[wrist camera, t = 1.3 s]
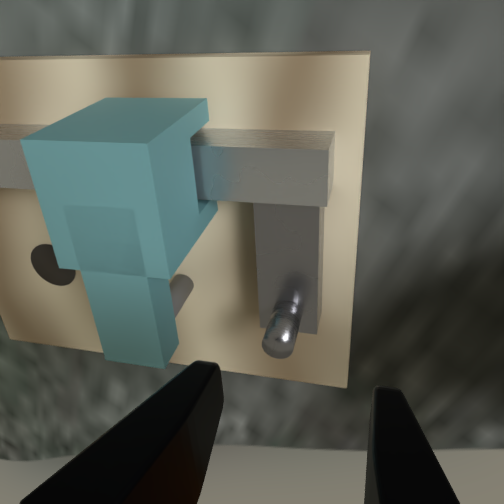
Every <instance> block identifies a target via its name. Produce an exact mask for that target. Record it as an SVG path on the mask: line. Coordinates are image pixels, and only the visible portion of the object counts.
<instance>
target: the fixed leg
mask: <svg viewBox="0 0 504 504" xmlns="http://www.w3.org/2000/svg"><path fill="white" fill-rule="evenodd" d="M253 210H254V228H255V246H256V264H257V282H258V299H259V317H260V328H266V331H265V334H264V337H263V340H262V348H263V350H264V352H265V353H266V354H267V355H269V356H271V357H273V358H276V359H285V358H288V357H289V356H291V354H292V353H293V350H294V346H295V342H296V338H297V334H298V332H299V333H308V334H316V335H317V332H318V327H319V322H320V317H321V312H322V283H323V247H324V210H325V207H318V206H301V205H284V204H268V203H253Z"/></svg>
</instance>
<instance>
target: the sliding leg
mask: <svg viewBox="0 0 504 504" xmlns="http://www.w3.org/2000/svg"><path fill="white" fill-rule="evenodd" d="M208 121H209V112H208V102H207V98H104V99H102V100H100V101H98V102H96V103H94V104H92V105H90V106H88V107H85V108H83V109H81V110H79V111H77V112H75V113H73V114H71V115H69V116H67V117H65V118H63V119H61V120H59V121H57V122H55V123H53V124H51V125H49V126H47V127H45V128H43V129H41V130H39V131H37V132H35V133H32V134H30V135H28V136H26V137H24V138H22V139H20V142H21V145H22V148H23V151H24V155H25V158H26V161H27V165H28V168H29V171H30V174H31V178H32V181H33V184H34V187H35V191H36V194H37V197H38V200H39V204H40V207H41V210H42V214H43V217H44V220H45V223H46V227H47V230H48V233H49V236H50V240H51V243H52V246H53V249H54V253H55V256H56V259H57V263H58V266H59V268H63V269H73V270H80V271H81V274H82V278H83V282H84V285H85V289H86V292H87V296H88V299H89V303H90V307H91V310H92V314H93V317H94V321H95V324H96V328H97V331H98V335H99V339H100V342H101V346H102V349H103V353H104V356H105V360H108V361H115V362H122V363H128V364H135V365H142V366H148V367H155V368H162V369H165V368H166V366H167V365H168V363H169V361H170V359H171V357H172V356H173V354H174V352H175V350H176V348H177V347H178V345H179V339H178V333H177V327H176V321H175V318H176V316H177V315H178V313H179V311H180V310H181V308H182V306H183V305H184V303H185V301H186V300H187V298H188V296H189V295H190V293H191V291H192V290H193V288H194V283H193V281H192V280H191V278H189V277H188V276H186V275H183V274H178V275H176V276H175V277H174V278H173V280H172V281H171V283H170V284H169V280H168V279H171V278H172V276H173V275H174V273H175V272H176V270H177V269H178V267H179V266H180V265H181V263H182V262H183V260H184V259H185V257H186V256H187V254H188V253H189V252H190V250H191V249H192V247H193V246H194V244H195V243H196V241H197V240H198V239H199V237H200V236H201V234H202V233H203V231H204V230H205V228H206V227H207V226H208V224H209V223H210V221H211V220H212V218H213V217H214V215H215V214H216V213H217V211H218V204H217V200H200V199H197V192H196V183H195V175H194V167H193V159H192V150H191V142H190V137H192V136H193V135H194V134H195V133H196V132H197V131H198V130H199V129H201V128H202V127H203V126H204V125H205V124H206V123H207V122H208Z"/></svg>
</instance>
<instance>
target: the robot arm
mask: <svg viewBox="0 0 504 504" xmlns="http://www.w3.org/2000/svg"><path fill="white" fill-rule="evenodd" d="M223 402H224V395H223V386H222V378H221V370H220V366H219V364H218V363H216V362H209V361H202V360H196V361H194V362H192V363H191V364H190V365H189V366H187V367H186V368H185V369H184V370H182V371H181V372H180V373H179V374H177V375H176V376H175V377H174V378H173V379H171V380H170V381H169V382H168V383H166V384H165V385H164V386H163V387H161V388H160V389H159V390H158V391H156V392H155V393H154V394H153V395H151V396H150V397H149V398H148V399H146V400H145V401H144V402H143V403H142V404H140V405H139V406H138V407H137V408H135V409H134V410H133V411H132V412H130V413H129V414H128V415H127V416H125V417H124V418H123V419H122V420H120V421H119V422H118V423H117V424H115V425H114V426H113V427H112V428H110V429H109V430H108V431H107V432H106V433H104V434H103V435H102V436H101V437H99V438H98V439H97V440H96V441H94V442H93V443H92V444H91V445H89V446H88V447H87V448H86V449H84V450H83V451H82V452H81V453H79V454H78V455H77V456H76V457H75V458H73V459H72V460H71V461H70V462H68V463H67V464H66V465H65V466H63V467H62V468H61V469H60V470H58V471H57V472H56V473H55V474H54V475H52V476H51V477H50V478H48V479H47V480H46V481H45V482H44V483H42V484H41V485H40V486H39V487H37V488H36V489H35V490H34V491H32V492H31V493H30V494H29V495H28V496H26V497H25V498H24V499H22V500H21V502H20V504H197V502H198V499H199V496H200V493H201V490H202V486H203V482H204V479H205V475H206V471H207V467H208V463H209V459H210V455H211V452H212V447H213V444H214V440H215V436H216V432H217V428H218V425H219V421H220V417H221V413H222V409H223ZM366 469H367V470H366V484H365V498H364V504H460V502H459V501H458V499H457V497H456V495H455V493H454V491H453V489H452V487H451V485H450V483H449V481H448V479H447V477H446V476H445V474H444V472H443V470H442V468H441V466H440V464H439V462H438V460H437V458H436V456H435V454H434V452H433V450H432V448H431V446H430V445H429V443H428V441H427V439H426V437H425V435H424V433H423V431H422V429H421V427H420V425H419V423H418V421H417V419H416V418H415V416H414V414H413V412H412V410H411V408H410V406H409V404H408V402H407V400H406V398H405V396H404V394H403V393H402V391H401V390H400V389H398V388H393V387H386V386H379V385H377V386H375V387H374V388H373V394H372V404H371V413H370V423H369V437H368V452H367V467H366Z"/></svg>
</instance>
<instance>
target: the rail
mask: <svg viewBox="0 0 504 504" xmlns="http://www.w3.org/2000/svg"><path fill="white" fill-rule="evenodd" d="M47 126H49V125H39V124H0V188H14V189H31V190H35V187H34V184H33V181H32V178H31V174H30V171H29V168H28V165H27V161H26V158H25V155H24V151H23V148H22V145H21V142H20V139H22V138H24V137H26V136H28V135H30V134H32V133H35V132H37V131H39V130H41V129H43V128H45V127H47ZM190 142H191V150H192V159H193V167H194V175H195V183H196V192H197V199H200V200H217V201H234V202H251V203H268V204H284V205H301V206H318V207H327V206H328V202H329V198H330V194H331V191H332V187H333V179H334V152H335V131H310V130H265V129H220V128H201V129H199V130H198V131H197V132H196V133H195V134H194V135H193V136H192V137H190Z"/></svg>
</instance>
